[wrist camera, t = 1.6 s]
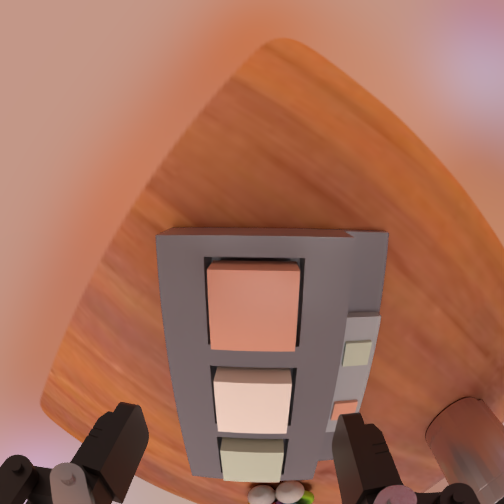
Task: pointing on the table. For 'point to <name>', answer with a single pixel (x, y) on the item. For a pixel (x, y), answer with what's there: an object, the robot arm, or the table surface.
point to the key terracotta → (253, 305)
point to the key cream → (252, 399)
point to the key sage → (252, 459)
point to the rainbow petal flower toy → (280, 494)
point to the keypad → (299, 361)
